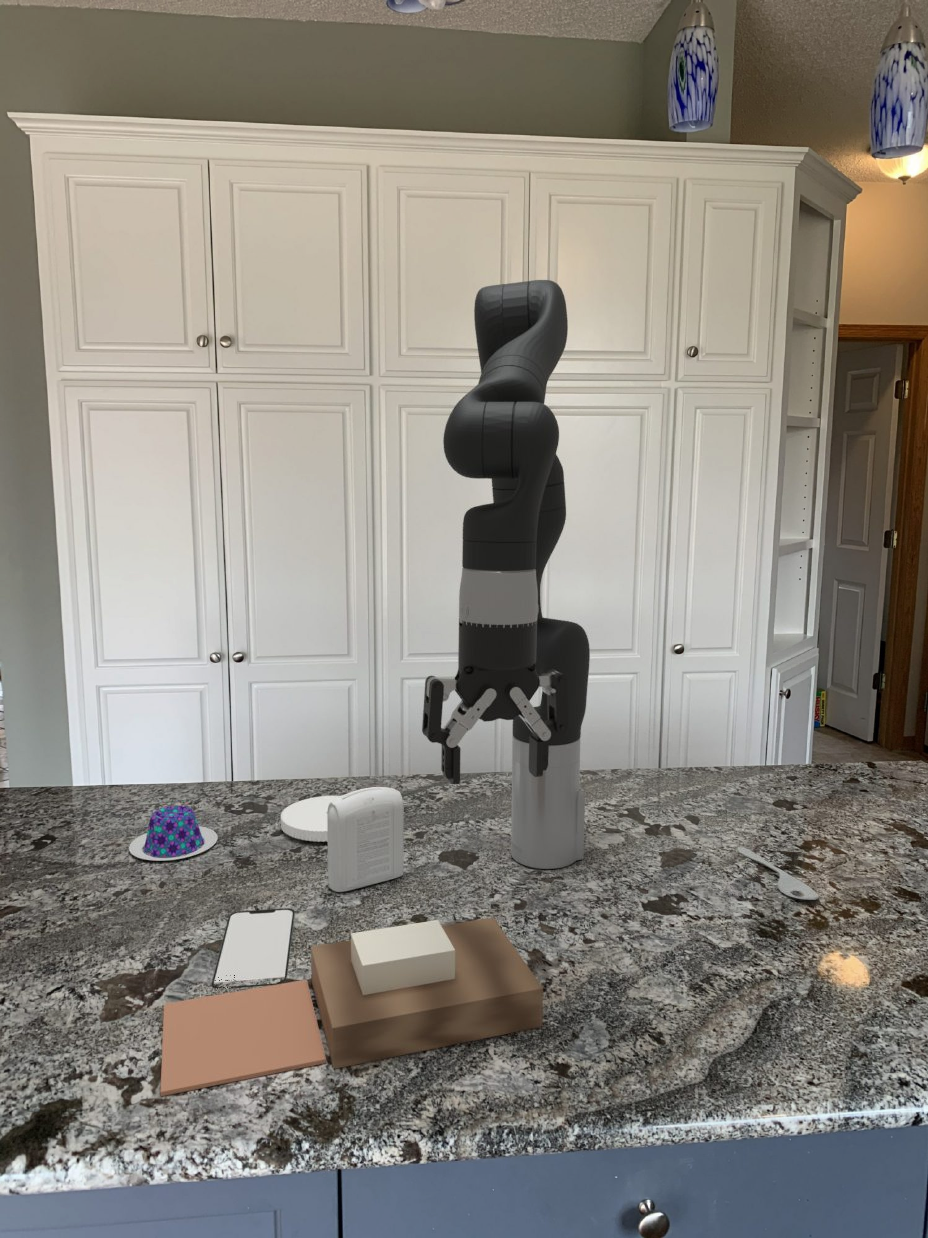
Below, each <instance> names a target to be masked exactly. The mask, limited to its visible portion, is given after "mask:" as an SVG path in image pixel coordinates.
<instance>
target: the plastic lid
mask: <svg viewBox="0 0 928 1238" xmlns="http://www.w3.org/2000/svg"><path fill="white" fill-rule="evenodd" d="M341 796H342V795H323V796H321V795H320V796H315V797H310V798H309V797H308V798H305V799H302V800H298V801H296V802H293V803H292V804H290V805H288V806H287V807H285V808H284V809H283V810H282V811H281V813H280V829H281V831H283V833H284V834H286V835H287V836H289V837H291V838H294V839H297V840H301V841H309V842H318V843H320V842H328V831H327V811H328V806H329V804H330V803H331V802H332V801H334V800H335V799H337V798H339V797H341Z"/></svg>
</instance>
